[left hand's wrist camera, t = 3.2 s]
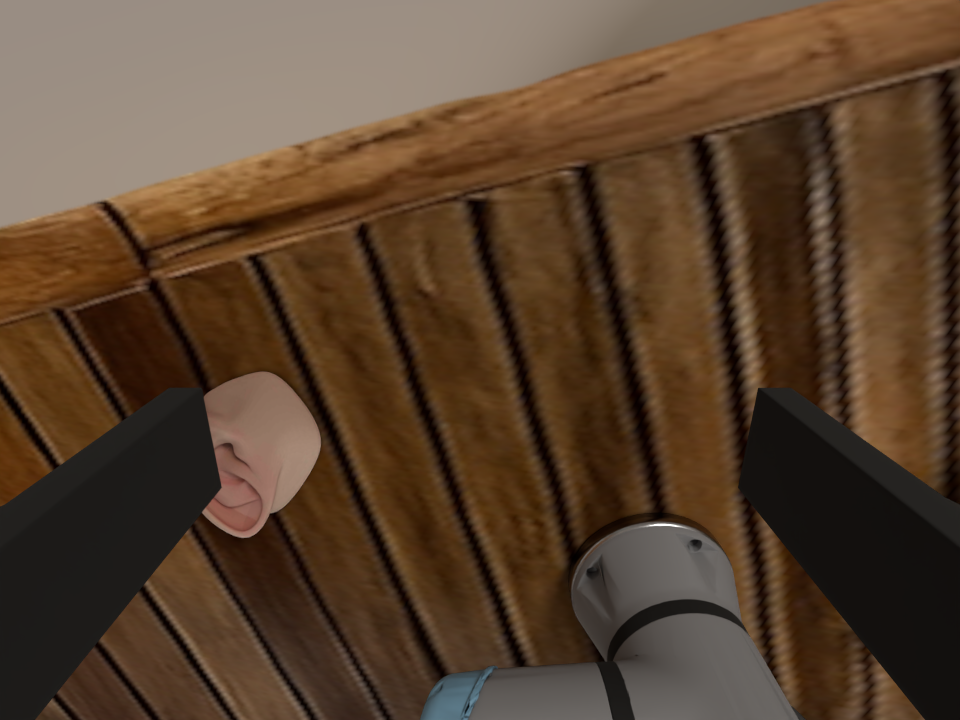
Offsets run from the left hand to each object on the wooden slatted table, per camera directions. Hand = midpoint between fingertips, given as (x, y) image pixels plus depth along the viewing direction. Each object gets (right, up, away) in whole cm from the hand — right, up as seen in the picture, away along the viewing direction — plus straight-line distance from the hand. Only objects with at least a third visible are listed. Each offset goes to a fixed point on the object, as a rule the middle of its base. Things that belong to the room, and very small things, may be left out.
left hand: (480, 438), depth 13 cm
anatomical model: (-20, -5, +33) cm, 39 cm away
